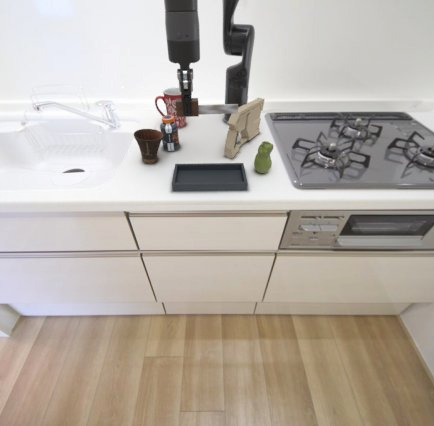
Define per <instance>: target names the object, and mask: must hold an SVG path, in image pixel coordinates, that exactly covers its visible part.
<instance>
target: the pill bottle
mask: <svg viewBox="0 0 434 426" xmlns="http://www.w3.org/2000/svg"><path fill="white" fill-rule="evenodd" d="M159 128H160V132H161V133H162V134H163V138H162V140H161V143H162V148H163V150H164V151H167V152H175V151H177V150H179V149H180V139H179V128H178V127H177V123H176V122H174V117H173V116H171V115H167V114H166V115H165V116H162V117H161V123H160V124H159Z"/></svg>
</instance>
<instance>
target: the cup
mask: <svg viewBox="0 0 434 426" xmlns="http://www.w3.org/2000/svg"><path fill="white" fill-rule="evenodd" d="M133 137H134V139H135V141H136V143H137V145H138V148H139V151H140V155H141V161H142V162H143V163H145V164H155V163H157V161H158V154H159V149H160V146H161V143H162V138H163V134H162V133H161V130H160V131H159V130H158V129H153V128H141V129H137V130H135V131H134V133H133Z"/></svg>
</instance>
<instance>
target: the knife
mask: <svg viewBox="0 0 434 426" xmlns="http://www.w3.org/2000/svg"><path fill="white" fill-rule="evenodd" d="M191 98H192V102H191V108H192V116H189V117H193V118H194V117H199V116H200V115H224V114H236V113H238V104H225V103H223V104H199V98H198V97H191ZM176 113H177V117H185V116H184V113H183V102H182V101H181V98H180V99H176Z"/></svg>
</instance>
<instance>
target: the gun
mask: <svg viewBox="0 0 434 426" xmlns="http://www.w3.org/2000/svg"><path fill="white" fill-rule="evenodd" d="M264 104H265V98H262V97H257V98H255V99H253V100H251V101H249V102H247V104H246V105H245V104H244V105H242V106H240V107H239V108H238V113H236V114H231V116H230V118H229V121H228V123H226V125H227V126H228V130H227V133H226V137H225V142H224V148H223V149H224V156H225V157H226V158H228V159H233V158H234V157H235V156H236V155H237V153H238V152H239V150H240V147H242V145H244V144H245V143H246V142H250V141H251V140H253V139H254V137H256V136H257V135H258V134H259V133H260V124H261V113H262V111H263V110H264ZM239 133H240V136H241V138H240V139H239V140H238V137H239Z"/></svg>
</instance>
